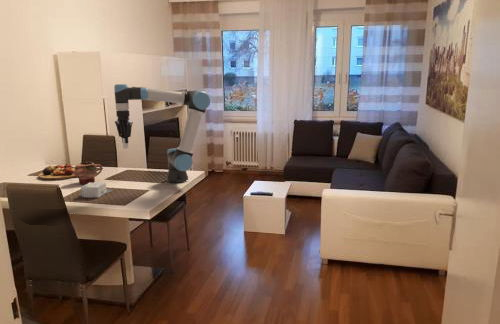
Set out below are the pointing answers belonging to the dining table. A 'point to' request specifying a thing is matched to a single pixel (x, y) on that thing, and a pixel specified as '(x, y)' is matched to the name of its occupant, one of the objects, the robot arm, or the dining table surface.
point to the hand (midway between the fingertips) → (125, 148)
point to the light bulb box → (93, 189)
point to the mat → (105, 193)
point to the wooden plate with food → (57, 172)
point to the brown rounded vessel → (86, 172)
